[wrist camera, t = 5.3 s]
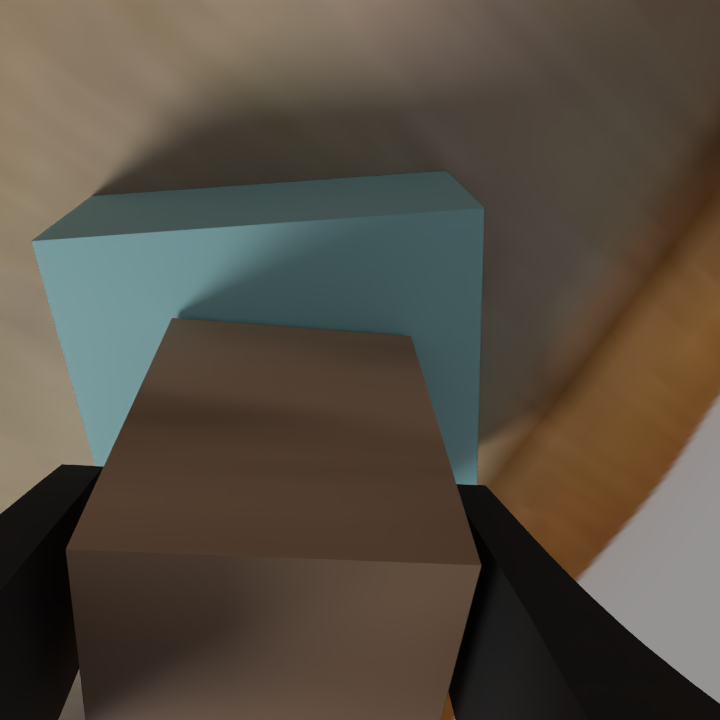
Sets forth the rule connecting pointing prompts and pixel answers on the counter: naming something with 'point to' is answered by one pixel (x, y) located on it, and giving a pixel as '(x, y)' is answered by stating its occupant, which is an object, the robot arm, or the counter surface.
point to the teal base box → (272, 282)
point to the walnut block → (273, 535)
